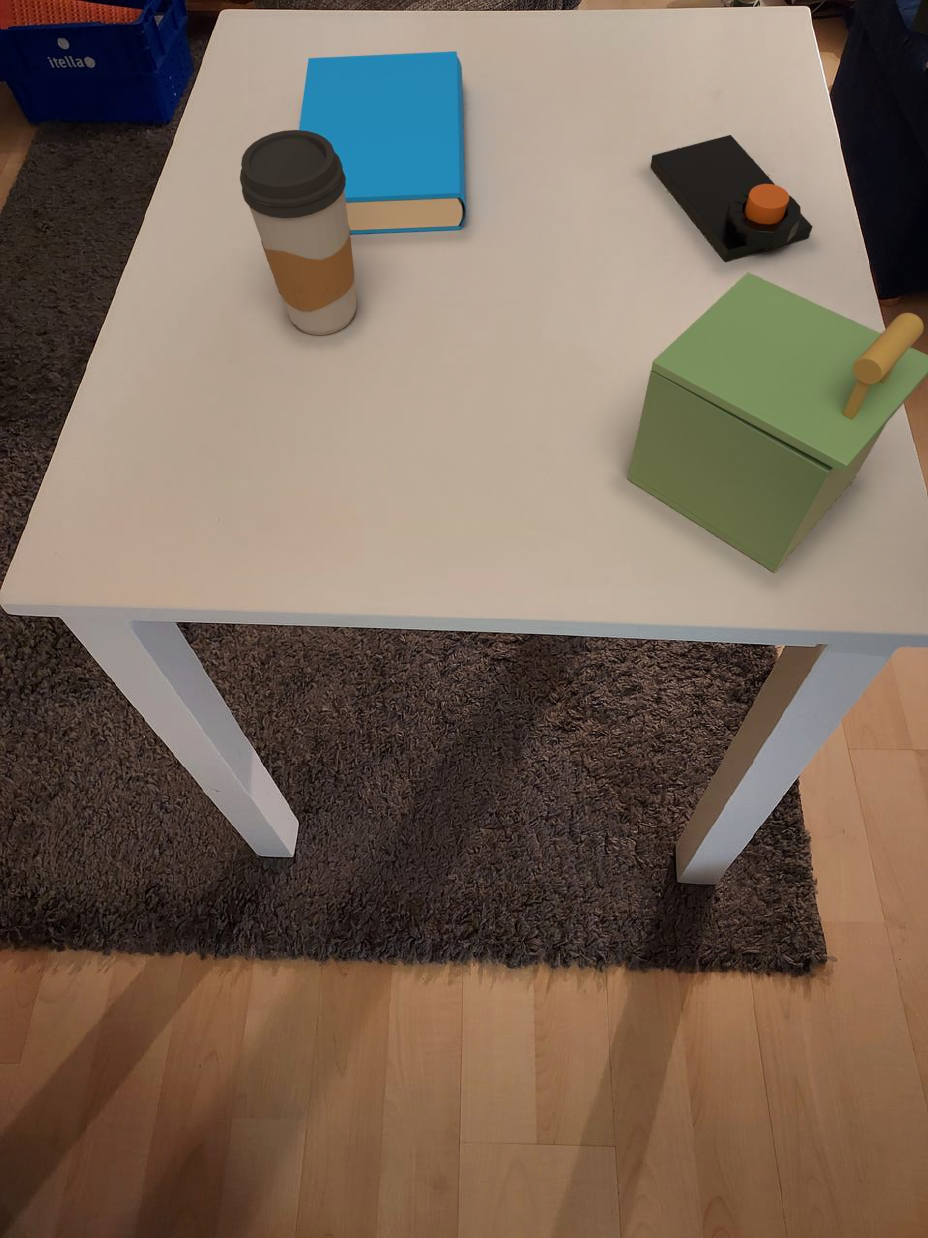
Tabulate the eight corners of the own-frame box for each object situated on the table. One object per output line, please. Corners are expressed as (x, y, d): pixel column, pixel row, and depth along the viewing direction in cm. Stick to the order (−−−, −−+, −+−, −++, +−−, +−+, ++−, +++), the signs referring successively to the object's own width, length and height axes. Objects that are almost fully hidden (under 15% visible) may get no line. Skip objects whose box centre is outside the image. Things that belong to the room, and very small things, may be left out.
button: (791, 219, 78) (796, 202, 77) (756, 229, 78) (761, 211, 76) (771, 196, 80) (776, 179, 78) (737, 206, 79) (742, 188, 78)
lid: (933, 368, 56) (972, 298, 51) (843, 474, 52) (876, 408, 47) (745, 280, 61) (764, 209, 56) (650, 369, 57) (662, 301, 52)
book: (288, 201, 80) (305, 54, 92) (298, 240, 84) (312, 94, 96) (468, 192, 80) (461, 45, 92) (469, 232, 83) (462, 86, 95)
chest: (853, 479, 67) (918, 368, 56) (774, 573, 63) (828, 472, 52) (709, 397, 71) (744, 281, 61) (627, 479, 67) (650, 370, 57)
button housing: (815, 246, 80) (826, 217, 78) (731, 270, 79) (739, 242, 76) (727, 146, 88) (734, 117, 86) (650, 166, 87) (654, 138, 84)
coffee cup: (381, 292, 79) (358, 135, 66) (346, 353, 75) (313, 199, 62) (302, 275, 81) (263, 118, 68) (263, 333, 77) (215, 179, 64)
